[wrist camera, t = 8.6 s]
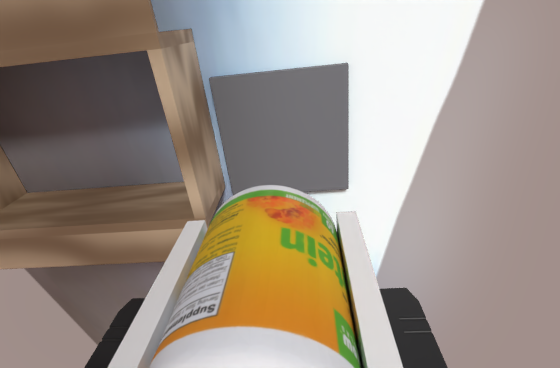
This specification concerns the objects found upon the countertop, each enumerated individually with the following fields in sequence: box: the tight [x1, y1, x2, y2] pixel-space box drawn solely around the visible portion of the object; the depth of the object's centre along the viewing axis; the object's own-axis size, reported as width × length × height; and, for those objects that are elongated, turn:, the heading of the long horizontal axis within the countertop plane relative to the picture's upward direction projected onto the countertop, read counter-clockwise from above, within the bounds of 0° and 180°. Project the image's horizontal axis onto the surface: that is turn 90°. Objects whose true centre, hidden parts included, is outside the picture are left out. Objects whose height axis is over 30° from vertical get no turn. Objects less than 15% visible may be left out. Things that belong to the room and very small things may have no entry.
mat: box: [209, 63, 348, 196], centre depth 24 cm, size 10×10×1 cm
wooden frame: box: [0, 0, 225, 269], centre depth 23 cm, size 19×20×6 cm
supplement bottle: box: [149, 185, 361, 368], centre depth 9 cm, size 5×5×10 cm
